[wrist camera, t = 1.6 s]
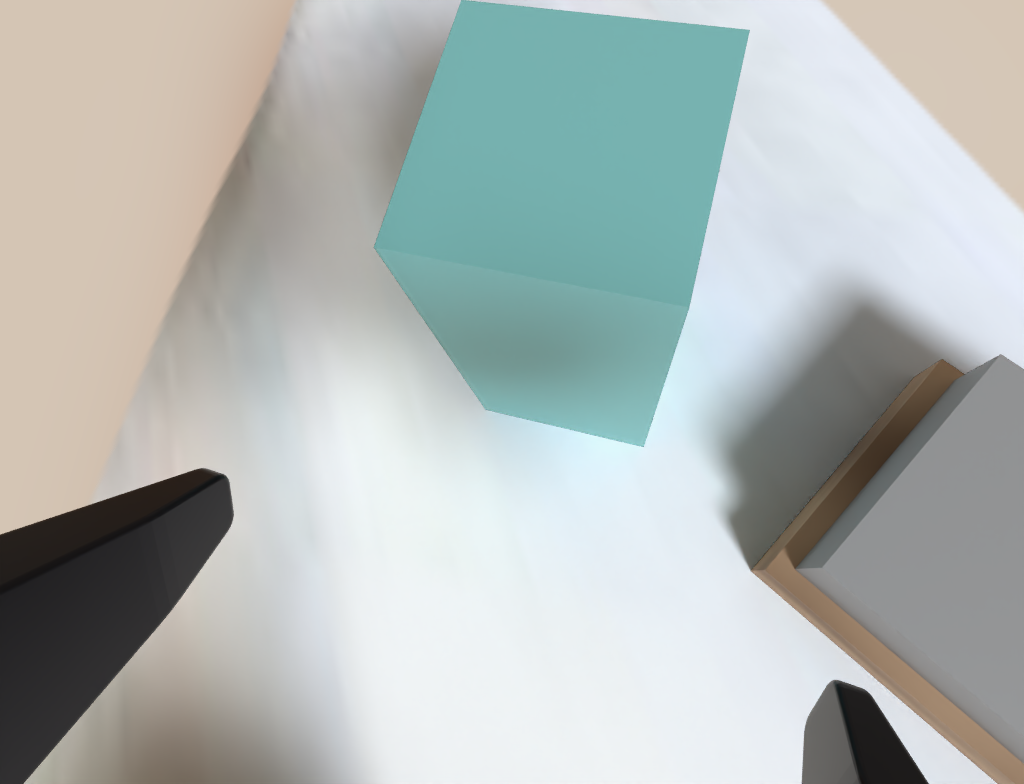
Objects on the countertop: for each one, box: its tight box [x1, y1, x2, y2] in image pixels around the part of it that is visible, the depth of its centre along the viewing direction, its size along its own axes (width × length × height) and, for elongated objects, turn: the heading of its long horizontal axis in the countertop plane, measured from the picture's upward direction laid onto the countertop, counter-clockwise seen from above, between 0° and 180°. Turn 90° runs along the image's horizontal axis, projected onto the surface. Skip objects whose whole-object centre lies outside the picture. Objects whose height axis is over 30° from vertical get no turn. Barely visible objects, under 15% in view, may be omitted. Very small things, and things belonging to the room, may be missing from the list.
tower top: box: [795, 354, 1024, 764], centre depth 18 cm, size 8×8×2 cm
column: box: [374, 0, 750, 447], centre depth 18 cm, size 6×6×12 cm
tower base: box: [751, 359, 1024, 784], centre depth 20 cm, size 9×9×2 cm
